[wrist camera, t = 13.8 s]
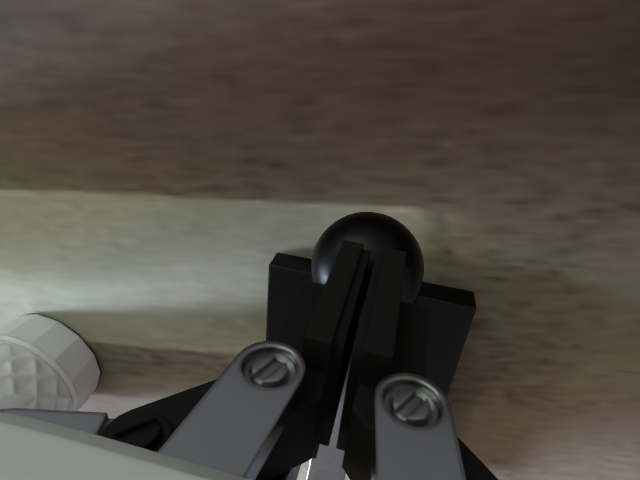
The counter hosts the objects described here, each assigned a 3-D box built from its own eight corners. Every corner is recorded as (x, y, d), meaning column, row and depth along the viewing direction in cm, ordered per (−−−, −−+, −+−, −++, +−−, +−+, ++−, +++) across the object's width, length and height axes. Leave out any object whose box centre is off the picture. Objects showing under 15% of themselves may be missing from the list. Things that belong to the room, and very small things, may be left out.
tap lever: (330, 210, 15) (314, 195, 12) (428, 227, 15) (440, 217, 11) (251, 611, 15) (212, 712, 12) (348, 644, 14) (336, 760, 11)
